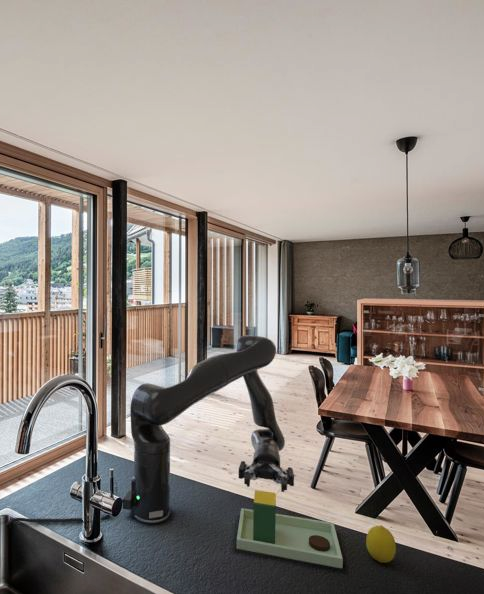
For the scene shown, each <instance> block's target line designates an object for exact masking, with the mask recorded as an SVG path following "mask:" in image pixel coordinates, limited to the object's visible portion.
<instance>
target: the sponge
mask: <svg viewBox="0 0 484 594" xmlns="http://www.w3.org/2000/svg"><path fill="white" fill-rule="evenodd" d="M276 495H277V493H276V492H271V491H265V490H258V489H255V490H254V496H253V510H254V514H253V540H254V541H260V542H265V543H271V544H275V522H276V514H277V513H276V512H277V498H276V497H277V496H276Z"/></svg>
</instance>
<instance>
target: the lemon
mask: <svg viewBox="0 0 484 594" xmlns="http://www.w3.org/2000/svg"><path fill="white" fill-rule="evenodd" d="M365 544H366V549H367V552H368V553H369V556H371V557H372V558H373V559H374V560H375V561H376V562H379V563H381V564H385V563H387V564H388V563H390V562H391V561H393V559H394V558H395V556H396V552H397V546H396V545H397V544H396V540H395V537H394V535H393V534H392V532H391V531H390V530H389V529H388V528H386V527H385V526H383V525H375V526H371V528H369V529H368V531H367V535H366V538H365Z"/></svg>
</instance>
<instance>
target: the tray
mask: <svg viewBox="0 0 484 594" xmlns="http://www.w3.org/2000/svg"><path fill="white" fill-rule="evenodd" d="M253 514H254V509H251V508H243V507H241V508H240V515H239V522H238V528H237V533H236V534H237V535H236V549H237V550H243V551H249V552H252V553H253V552H254V553H259V554H263V555H269V556H275V557H278V558H279V557H280V558H285V559H291V560H294V561H299V562H305V563H312V564H316V565H321V566H326V567H327V566H328V567H331V568H332V567H333V568H337V569H343V568H344V567H343V565H344V564H343V563H344V558H343V554H342V551H341V547H340V543H339V539H338V535H337V531H336V528H335V527H336V526H335V523H334V522H330V521H325V520H317V519H313V518H312V519H311V518H305V517H299V516H293V515H287V514H280V513H276V522H275V544H271V543H265V542H260V541H254V540H253ZM313 535H318V536H322V537H324V538H326V539H327V540H328V541H329V542H330V549H329V550H328V551H324V552H322V551H317V550H315V549H313V548H312V547H311V546H310V545H309V537H310V536H313Z"/></svg>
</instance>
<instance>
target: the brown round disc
mask: <svg viewBox="0 0 484 594" xmlns="http://www.w3.org/2000/svg"><path fill="white" fill-rule="evenodd" d="M309 545H310V546H311V547H312V548H313V549H315V550H317V551H322V552H324V551H328V550H329V549H330V542H329V541H328V540H327V539H326V538H324V537H322V536H318V535H313V536H310V537H309Z"/></svg>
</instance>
